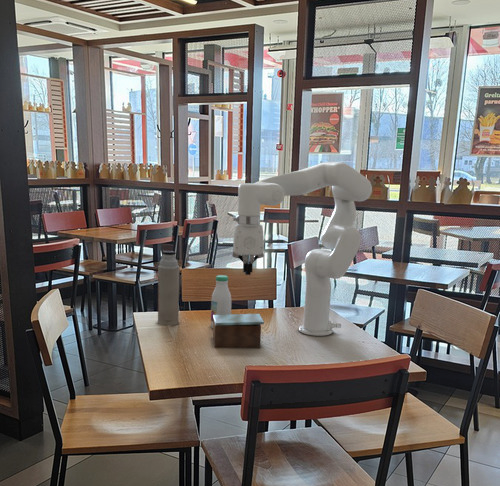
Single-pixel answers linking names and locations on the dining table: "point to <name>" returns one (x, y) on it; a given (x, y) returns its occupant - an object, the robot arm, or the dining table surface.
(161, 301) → the thermos bottle
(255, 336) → the brown wooden box
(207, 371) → the dining table surface
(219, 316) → the light blue flat slab
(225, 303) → the milk bottle
